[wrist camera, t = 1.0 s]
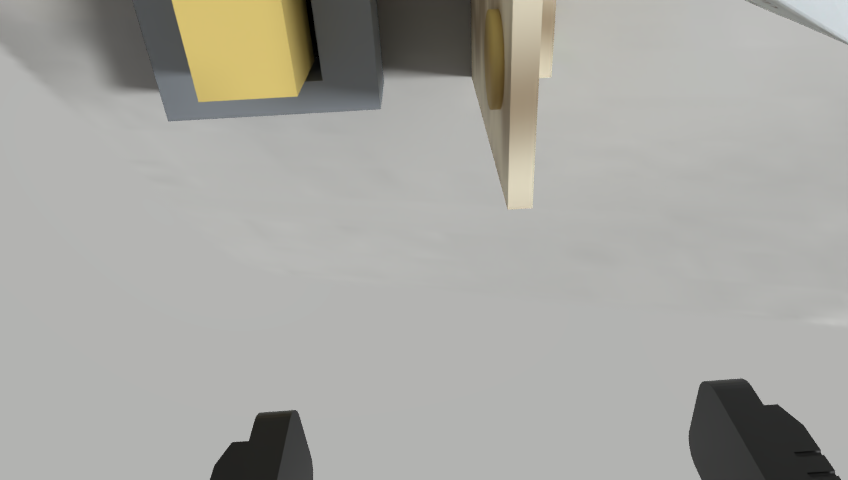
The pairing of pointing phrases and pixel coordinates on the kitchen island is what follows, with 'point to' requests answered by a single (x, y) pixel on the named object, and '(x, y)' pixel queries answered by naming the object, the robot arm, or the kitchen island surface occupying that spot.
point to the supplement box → (813, 14)
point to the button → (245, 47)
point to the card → (512, 84)
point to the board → (324, 86)
